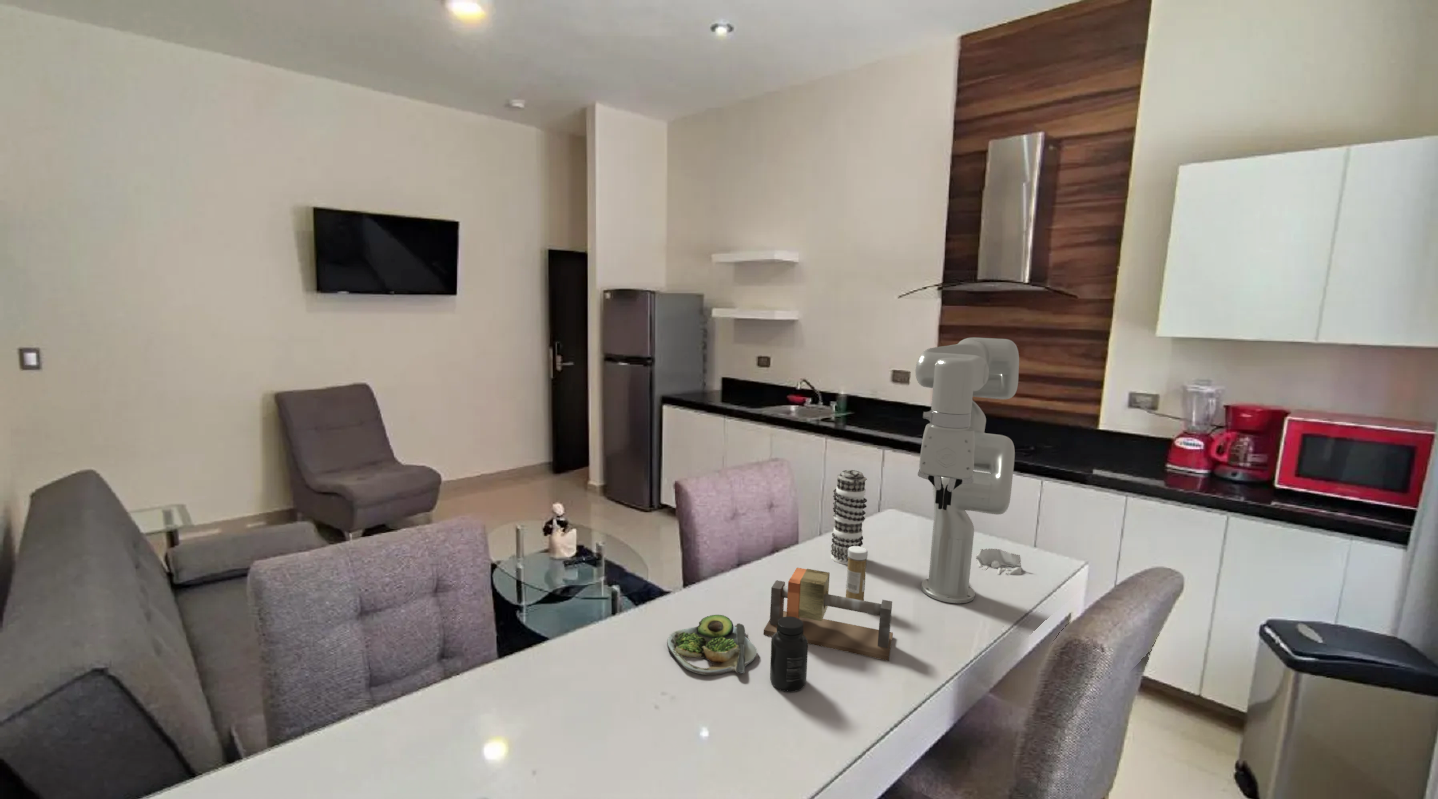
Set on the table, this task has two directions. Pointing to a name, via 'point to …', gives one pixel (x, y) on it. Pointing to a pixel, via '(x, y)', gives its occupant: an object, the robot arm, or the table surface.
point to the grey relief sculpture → (999, 560)
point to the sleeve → (813, 594)
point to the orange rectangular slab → (794, 593)
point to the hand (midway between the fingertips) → (942, 507)
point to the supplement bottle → (789, 655)
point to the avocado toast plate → (713, 646)
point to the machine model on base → (839, 625)
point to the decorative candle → (848, 514)
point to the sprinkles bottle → (856, 572)
